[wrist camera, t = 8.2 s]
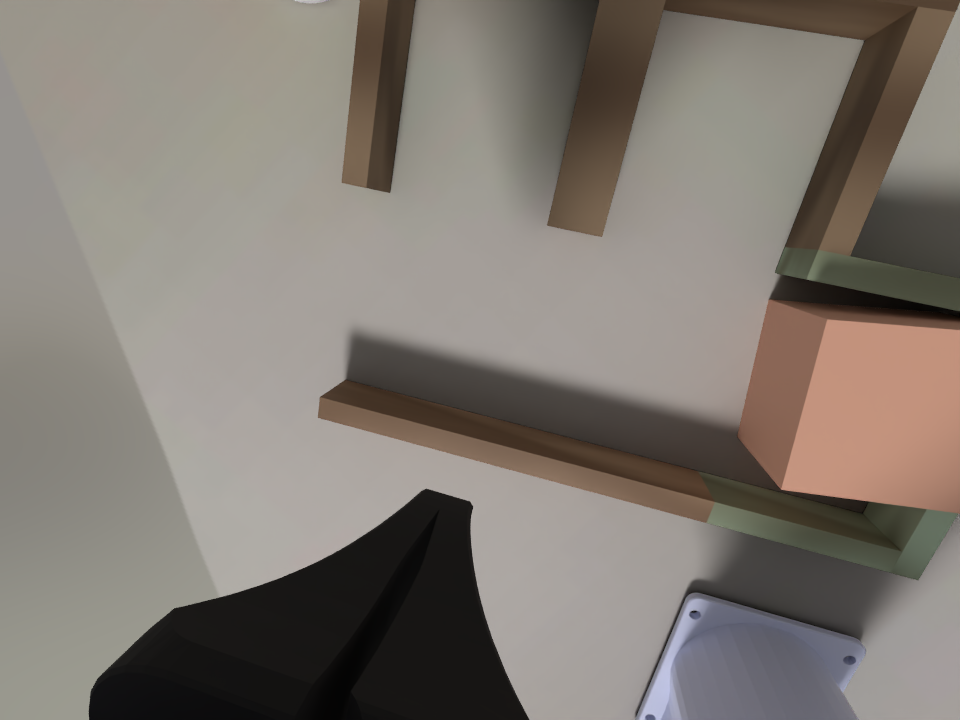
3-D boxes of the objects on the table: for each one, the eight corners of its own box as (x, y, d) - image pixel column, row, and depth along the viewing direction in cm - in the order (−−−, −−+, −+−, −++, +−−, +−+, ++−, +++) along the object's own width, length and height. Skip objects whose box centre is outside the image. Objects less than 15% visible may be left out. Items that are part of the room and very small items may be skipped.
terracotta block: (889, 453, 19) (979, 516, 15) (735, 435, 20) (781, 489, 16) (936, 311, 18) (1054, 337, 13) (767, 298, 19) (827, 319, 14)
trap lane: (876, 539, 20) (918, 580, 18) (343, 398, 23) (318, 417, 21) (1148, 44, 15) (1261, 8, 12) (397, -63, 17) (370, -109, 15)
